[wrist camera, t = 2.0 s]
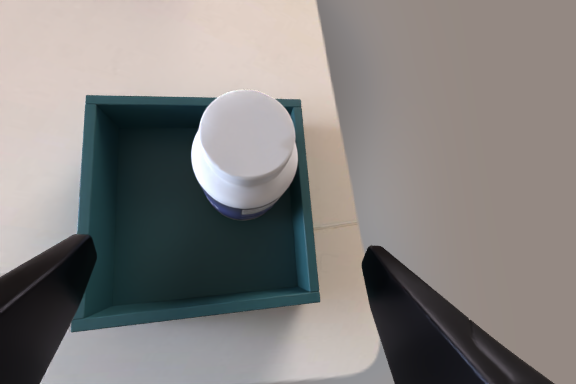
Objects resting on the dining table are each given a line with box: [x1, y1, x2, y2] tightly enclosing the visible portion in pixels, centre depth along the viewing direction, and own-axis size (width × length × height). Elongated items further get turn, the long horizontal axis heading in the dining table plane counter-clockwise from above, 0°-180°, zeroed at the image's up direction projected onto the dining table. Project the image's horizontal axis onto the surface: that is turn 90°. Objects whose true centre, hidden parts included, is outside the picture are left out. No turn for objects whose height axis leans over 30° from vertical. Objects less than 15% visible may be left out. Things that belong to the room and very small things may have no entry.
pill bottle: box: [191, 89, 298, 221], centre depth 16 cm, size 5×5×10 cm
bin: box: [71, 95, 320, 332], centre depth 19 cm, size 13×13×4 cm
